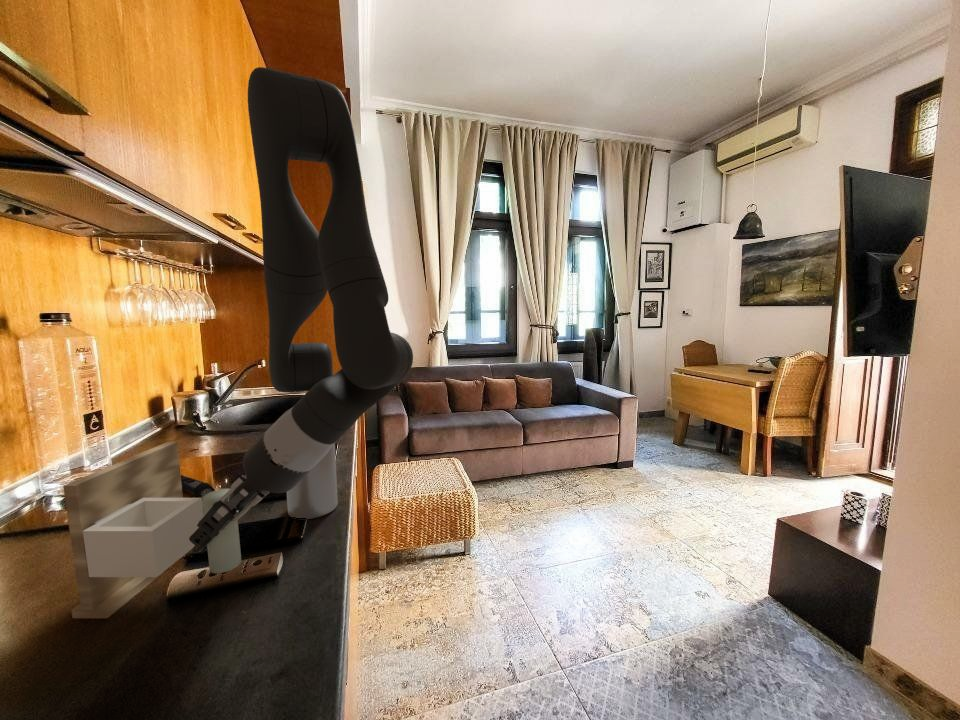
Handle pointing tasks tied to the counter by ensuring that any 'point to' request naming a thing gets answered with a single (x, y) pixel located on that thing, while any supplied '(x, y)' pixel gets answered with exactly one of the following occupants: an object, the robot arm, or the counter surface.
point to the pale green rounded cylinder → (222, 539)
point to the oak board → (103, 496)
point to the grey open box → (142, 537)
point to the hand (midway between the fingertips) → (207, 533)
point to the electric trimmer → (195, 487)
